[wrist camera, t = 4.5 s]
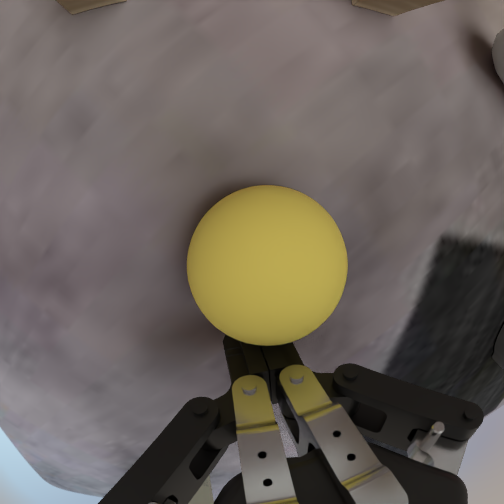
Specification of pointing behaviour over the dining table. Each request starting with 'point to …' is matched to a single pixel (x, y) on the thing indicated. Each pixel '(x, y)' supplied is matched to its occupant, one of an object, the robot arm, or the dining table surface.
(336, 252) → the ball
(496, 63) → the donut
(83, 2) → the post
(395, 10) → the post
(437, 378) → the dining table surface
